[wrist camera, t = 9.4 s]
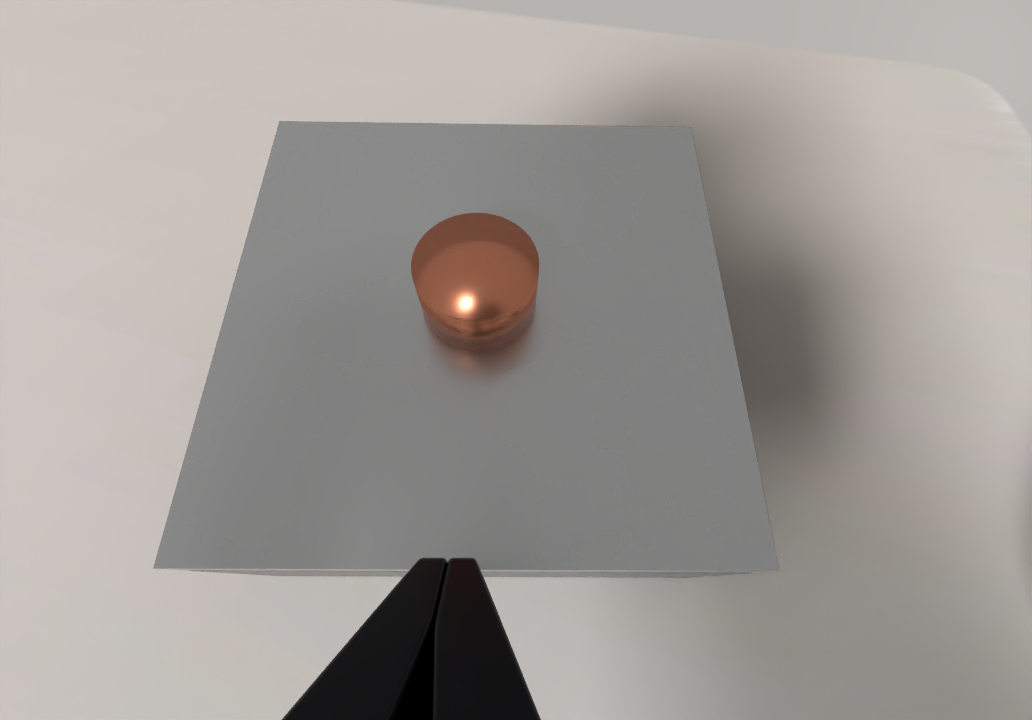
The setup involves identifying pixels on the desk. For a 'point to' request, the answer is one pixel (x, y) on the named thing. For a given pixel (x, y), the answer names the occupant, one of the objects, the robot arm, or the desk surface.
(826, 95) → the desk surface
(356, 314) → the lid
